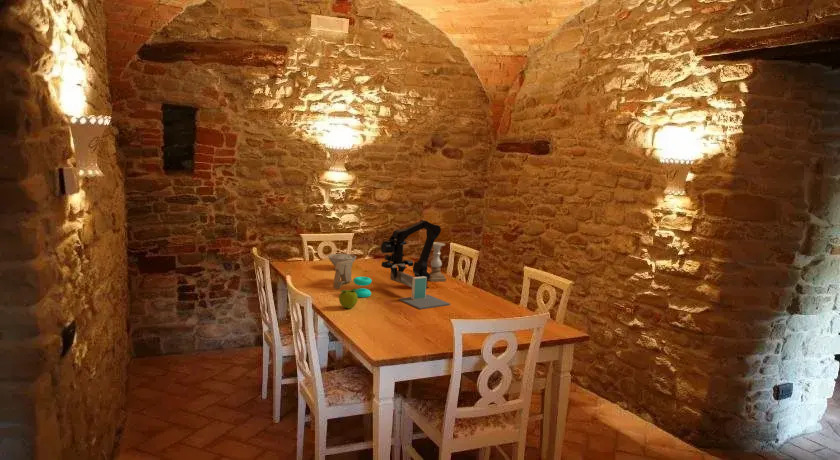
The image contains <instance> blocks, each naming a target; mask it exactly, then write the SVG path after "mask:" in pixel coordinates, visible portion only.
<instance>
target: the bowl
mask: <svg viewBox="0 0 840 460" xmlns="http://www.w3.org/2000/svg"><path fill="white" fill-rule="evenodd" d="M327 257H328V259H329V261H330V263H332V265H333V266H335V267H336V264H337V263H338V262H343V261H347V260H353V261H352V264H353V263H354V262H355V261H356V259H357V256H356V255H355V254H350V253H333V254H332V253H331V254H328V256H327Z"/></svg>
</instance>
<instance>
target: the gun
mask: <svg viewBox="0 0 840 460" xmlns="http://www.w3.org/2000/svg"><path fill="white" fill-rule="evenodd" d="M352 261H353V260H347V261H343V262H338V263H337V264H336V266H335V267H334V270H335V273H334V278H333V289H334V290H339V289H340V288H341V287H342V285H344V284H347V283H350V282H352V281H353V279H352V275H353V272H352V267H353V263H352Z"/></svg>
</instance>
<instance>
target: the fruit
mask: <svg viewBox="0 0 840 460" xmlns="http://www.w3.org/2000/svg"><path fill="white" fill-rule="evenodd" d="M357 289H358V288H353V289H343V290H340V291H339V292H340V293H339V296H338V300H339V301H338V302H339V303H340V305H341V307H343V309H352V308H354V307H355V306H356V304H357V303H358V301H359V299H358V298H359V297H357V294H356V292H355V291H354V290H357Z"/></svg>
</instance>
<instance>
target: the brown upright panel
mask: <svg viewBox="0 0 840 460" xmlns="http://www.w3.org/2000/svg"><path fill="white" fill-rule="evenodd" d="M413 277H414V276H413V275H411V274H408V273H405V272H404V271H403V272H401V271H398V269H397V274H396V279H394V276H393V273H392V270H391V269H390V280H391V281H393V282H396V283H399V284H402V285H405V286H407V287H410V288H412V280H413Z"/></svg>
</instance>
